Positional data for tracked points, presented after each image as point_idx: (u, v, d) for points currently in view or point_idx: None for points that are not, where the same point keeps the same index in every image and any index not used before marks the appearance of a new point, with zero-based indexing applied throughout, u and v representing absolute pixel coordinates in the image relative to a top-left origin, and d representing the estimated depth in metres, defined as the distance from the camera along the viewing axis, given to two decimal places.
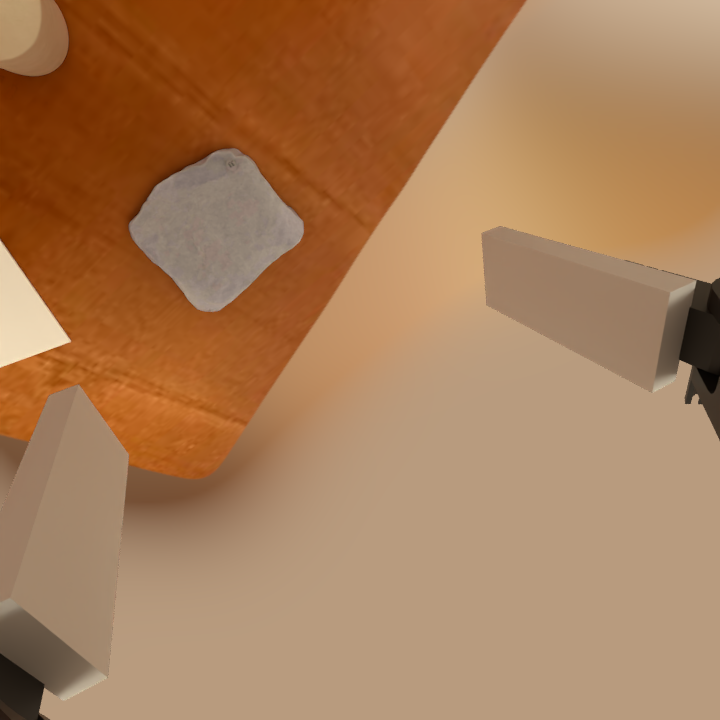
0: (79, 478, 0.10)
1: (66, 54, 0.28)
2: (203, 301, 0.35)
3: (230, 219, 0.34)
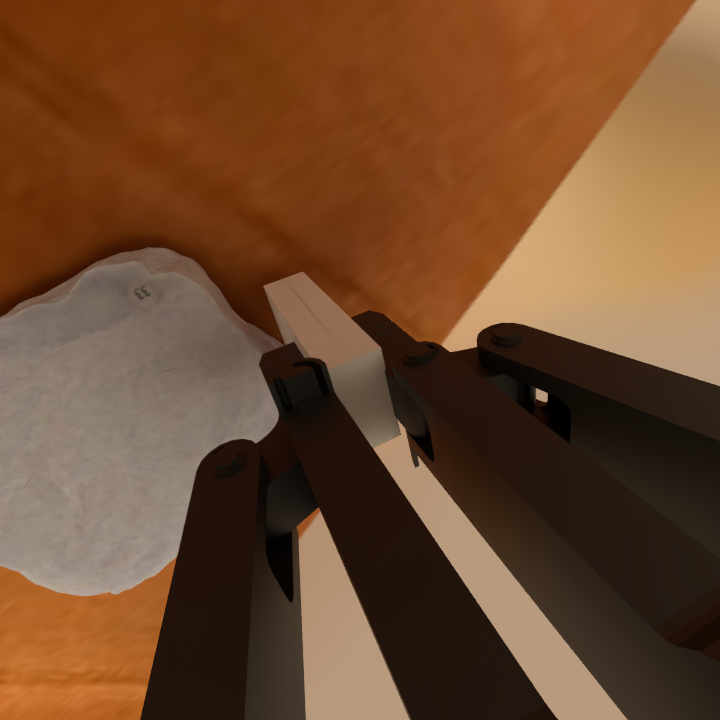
0: None
1: None
2: (88, 590, 0.15)
3: (145, 418, 0.14)
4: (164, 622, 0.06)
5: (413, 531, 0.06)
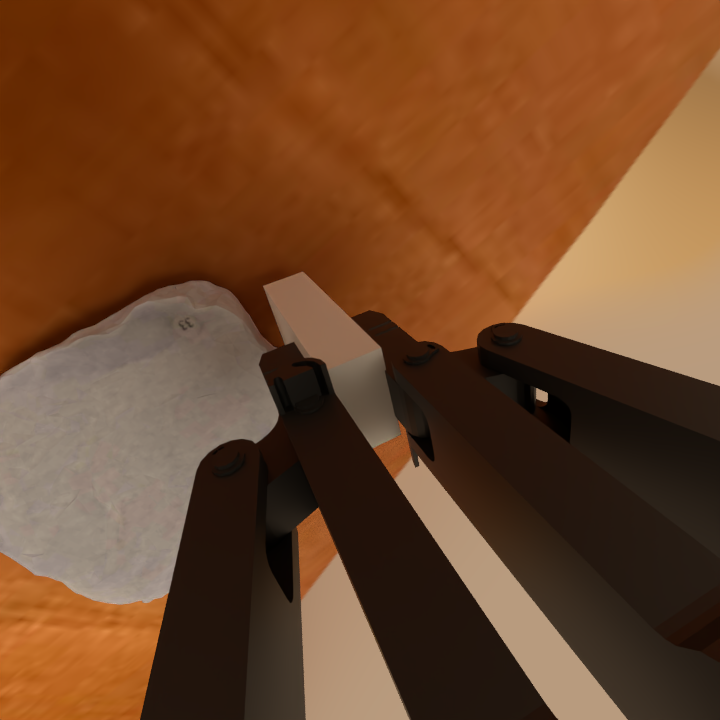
0: None
1: None
2: (124, 598, 0.16)
3: (183, 439, 0.15)
4: (164, 622, 0.06)
5: (412, 530, 0.06)
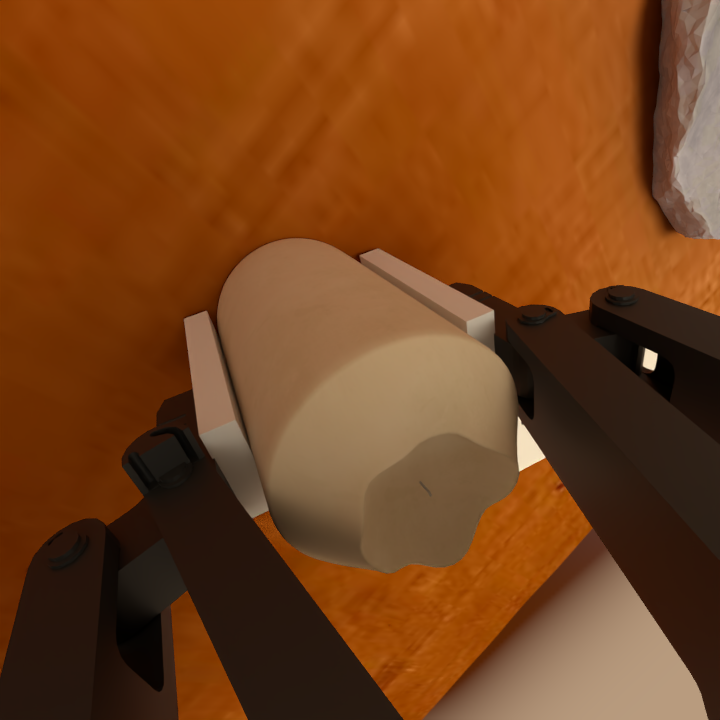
0: (228, 373, 0.12)
1: None
2: None
3: None
4: None
5: (296, 603, 0.05)
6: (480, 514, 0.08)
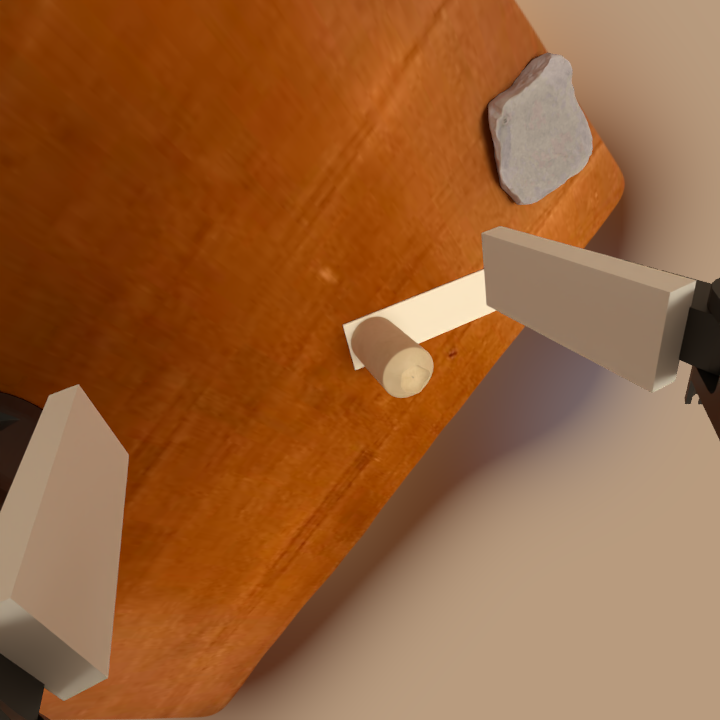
0: (79, 478, 0.10)
1: (387, 319, 0.48)
2: (585, 160, 0.45)
3: (540, 128, 0.42)
4: None
5: None
6: (423, 383, 0.42)
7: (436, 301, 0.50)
